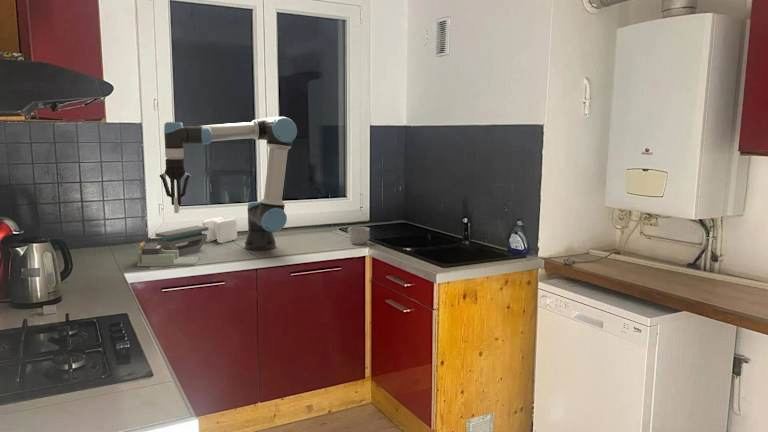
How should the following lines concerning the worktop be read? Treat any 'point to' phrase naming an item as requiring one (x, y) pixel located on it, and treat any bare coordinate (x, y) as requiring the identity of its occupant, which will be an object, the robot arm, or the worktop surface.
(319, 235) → the worktop surface
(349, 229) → the teacup
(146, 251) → the plug
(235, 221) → the cable organizer
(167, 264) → the header
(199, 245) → the sharpening stone
